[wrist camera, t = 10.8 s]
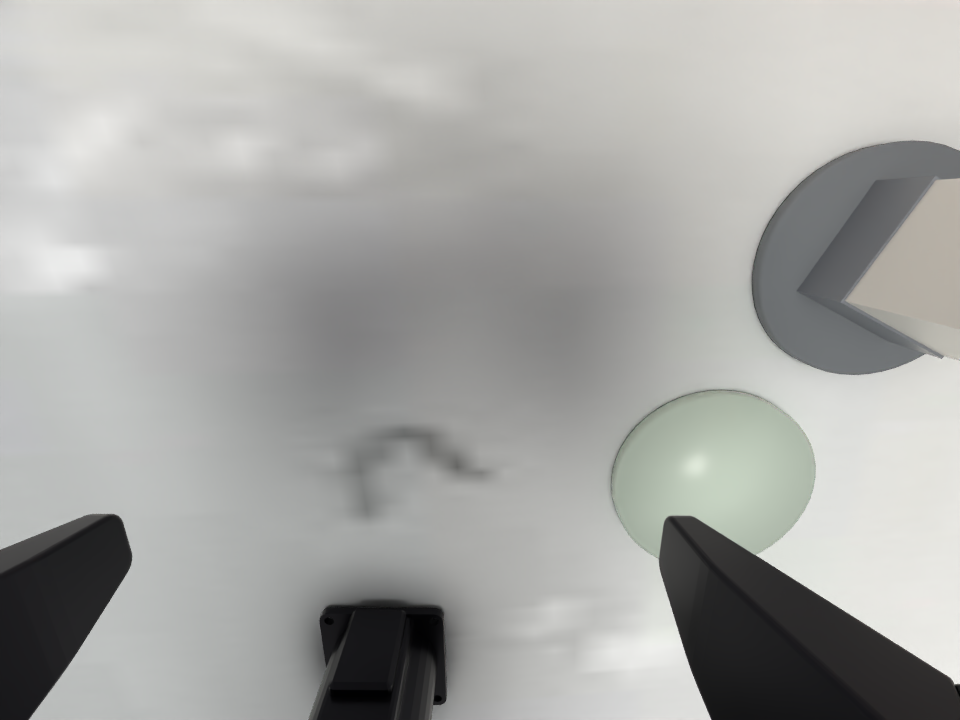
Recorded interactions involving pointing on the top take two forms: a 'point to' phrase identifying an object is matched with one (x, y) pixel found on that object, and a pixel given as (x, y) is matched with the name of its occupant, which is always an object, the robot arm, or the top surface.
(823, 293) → the tall white pillar block
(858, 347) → the pad dark
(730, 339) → the top surface
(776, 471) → the pad pale
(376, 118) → the top surface
